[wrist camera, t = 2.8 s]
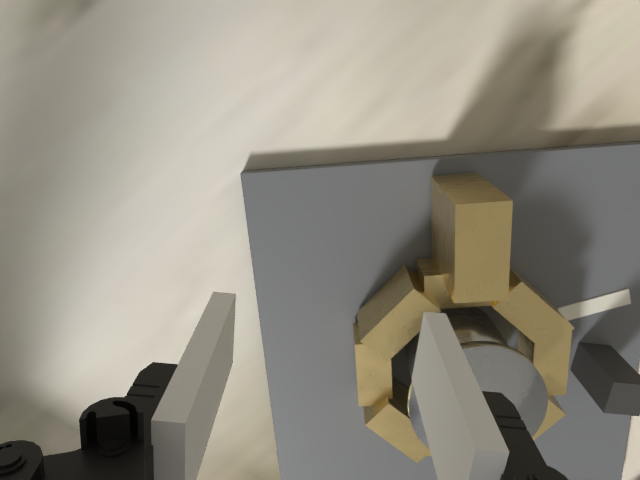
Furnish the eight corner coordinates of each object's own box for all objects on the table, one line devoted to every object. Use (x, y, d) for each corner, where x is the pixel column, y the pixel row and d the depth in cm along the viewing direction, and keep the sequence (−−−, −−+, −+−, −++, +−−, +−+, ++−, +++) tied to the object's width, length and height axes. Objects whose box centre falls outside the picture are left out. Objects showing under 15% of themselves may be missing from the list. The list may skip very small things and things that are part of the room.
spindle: (501, 381, 40) (543, 459, 33) (394, 387, 41) (410, 465, 33) (506, 284, 38) (552, 343, 30) (391, 291, 38) (407, 352, 30)
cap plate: (614, 473, 43) (657, 535, 38) (284, 489, 44) (277, 552, 39) (662, 139, 34) (729, 155, 28) (242, 170, 35) (226, 192, 29)
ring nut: (544, 421, 40) (586, 493, 34) (359, 431, 41) (365, 503, 34) (565, 165, 33) (623, 192, 27) (343, 182, 34) (347, 212, 27)
